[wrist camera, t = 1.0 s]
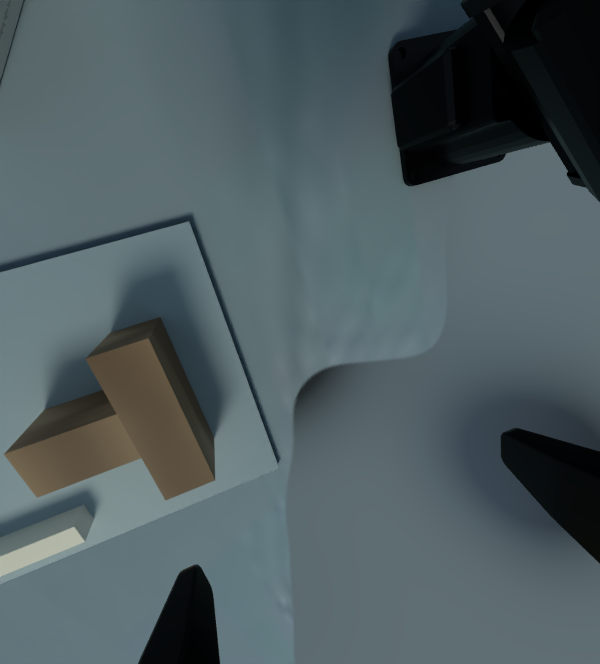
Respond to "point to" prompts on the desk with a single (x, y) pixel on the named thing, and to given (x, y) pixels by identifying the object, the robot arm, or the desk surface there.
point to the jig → (79, 380)
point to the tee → (123, 421)
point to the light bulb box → (7, 27)
